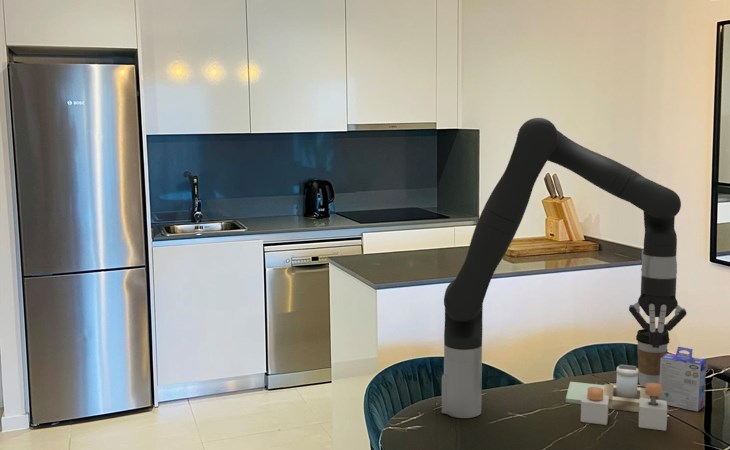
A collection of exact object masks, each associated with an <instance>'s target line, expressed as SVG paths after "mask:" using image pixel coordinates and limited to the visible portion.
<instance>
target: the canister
mask: <svg viewBox="0 0 730 450" xmlns="http://www.w3.org/2000/svg"><path fill="white" fill-rule="evenodd" d="M638 383H639V370H638V367H637V366H636V365H629V364H628V365H627V364H620V363H619V365H618V366H617V367H616V384H615V385H616V397H623V398H632V399H637V387H638Z"/></svg>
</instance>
